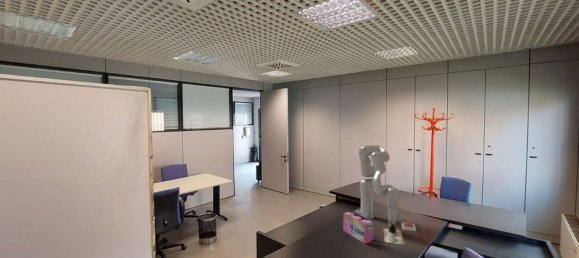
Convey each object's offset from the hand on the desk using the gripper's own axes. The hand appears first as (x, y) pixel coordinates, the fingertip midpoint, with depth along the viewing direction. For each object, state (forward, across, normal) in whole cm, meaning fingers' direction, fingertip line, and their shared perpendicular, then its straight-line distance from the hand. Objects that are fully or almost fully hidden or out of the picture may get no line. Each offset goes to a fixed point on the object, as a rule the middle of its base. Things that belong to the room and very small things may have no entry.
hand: (392, 229), depth 182 cm
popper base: (+2, -10, +12) cm, 16 cm away
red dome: (+2, -10, +12) cm, 16 cm away
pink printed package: (+3, +12, -24) cm, 27 cm away
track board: (+2, +7, 0) cm, 7 cm away
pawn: (+1, 0, 0) cm, 1 cm away
